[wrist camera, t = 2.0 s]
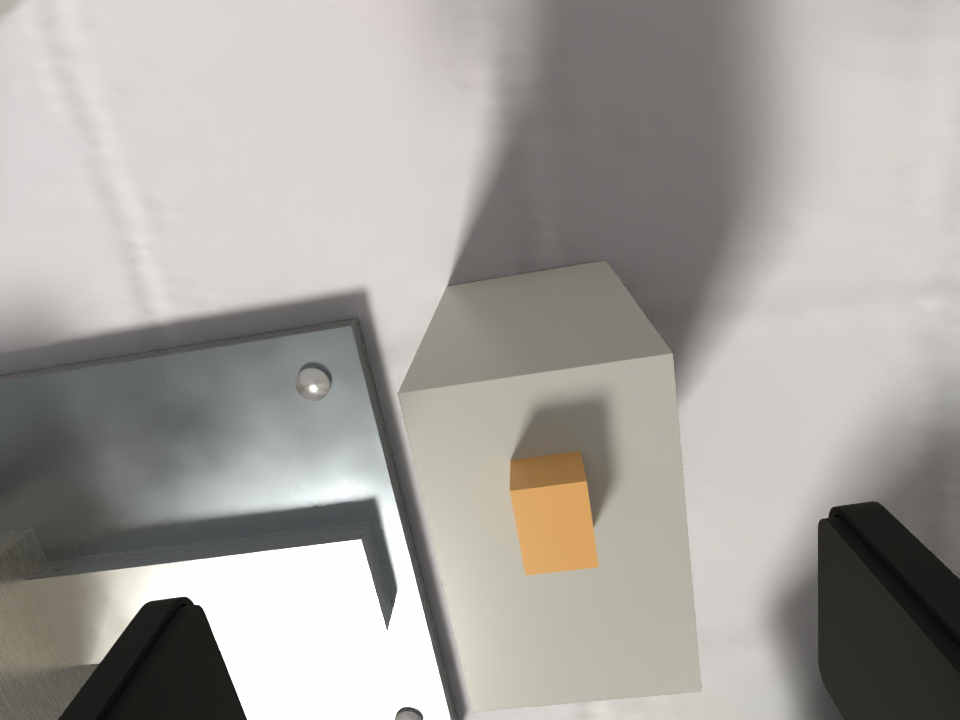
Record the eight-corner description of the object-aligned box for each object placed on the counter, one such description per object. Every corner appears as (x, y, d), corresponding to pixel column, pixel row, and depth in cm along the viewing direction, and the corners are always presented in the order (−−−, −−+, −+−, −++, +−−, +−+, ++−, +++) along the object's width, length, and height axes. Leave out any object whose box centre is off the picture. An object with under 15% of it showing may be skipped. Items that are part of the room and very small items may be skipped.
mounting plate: (358, 318, 19) (274, 414, 12) (459, 728, 24) (438, 948, 17) (-126, 396, 20) (-421, 515, 14) (66, 762, 25) (-86, 974, 19)
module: (605, 260, 18) (689, 376, 9) (631, 480, 20) (716, 737, 11) (447, 286, 18) (386, 418, 10) (489, 498, 20) (469, 757, 12)
